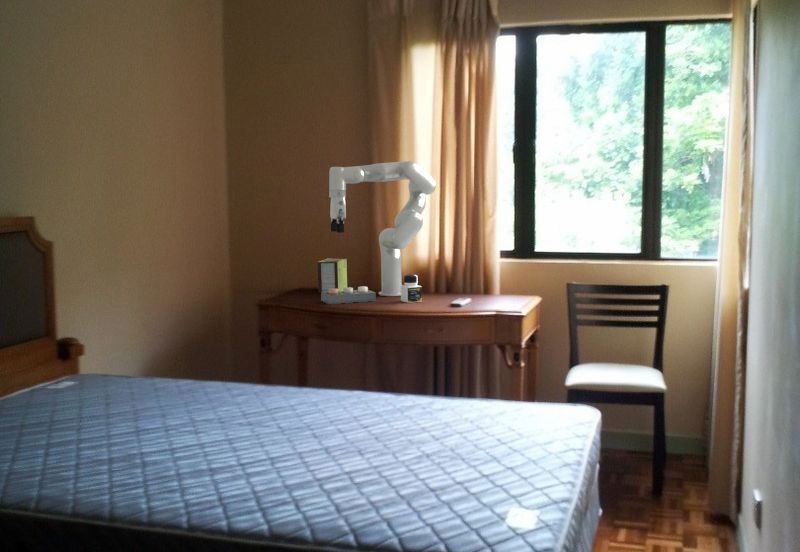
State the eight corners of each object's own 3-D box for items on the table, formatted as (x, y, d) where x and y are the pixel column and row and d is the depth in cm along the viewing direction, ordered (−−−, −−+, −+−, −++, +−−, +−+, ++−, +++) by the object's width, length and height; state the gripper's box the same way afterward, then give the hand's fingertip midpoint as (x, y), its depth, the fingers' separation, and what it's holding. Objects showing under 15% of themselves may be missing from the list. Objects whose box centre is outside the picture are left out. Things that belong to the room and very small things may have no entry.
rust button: (336, 295, 393) (336, 288, 393) (339, 296, 389) (339, 289, 389) (327, 295, 392) (327, 288, 391) (330, 297, 387) (330, 289, 387)
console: (366, 297, 403) (366, 289, 402) (375, 301, 392) (375, 292, 391) (321, 301, 395) (321, 292, 394) (329, 304, 384) (329, 295, 383)
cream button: (365, 293, 398) (365, 286, 398) (369, 294, 394) (368, 287, 394) (356, 293, 397) (356, 286, 396) (359, 294, 393) (359, 287, 392)
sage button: (351, 294, 396) (351, 287, 395) (354, 295, 392) (354, 288, 391) (342, 294, 394) (342, 287, 394) (345, 295, 390) (345, 288, 390)
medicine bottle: (408, 303, 385) (407, 276, 383) (400, 301, 391) (400, 274, 390) (422, 301, 388) (421, 275, 387) (414, 299, 394) (414, 273, 393)
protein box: (347, 289, 434) (346, 258, 432) (338, 293, 419) (337, 261, 417) (327, 289, 437) (326, 258, 435) (317, 293, 422) (317, 261, 420)
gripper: (351, 194, 386) (350, 233, 388) (340, 194, 403) (339, 231, 404) (335, 194, 384) (334, 233, 386) (324, 193, 400) (324, 231, 402)
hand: (337, 231), depth 395 cm, fingers open, 9 cm apart
